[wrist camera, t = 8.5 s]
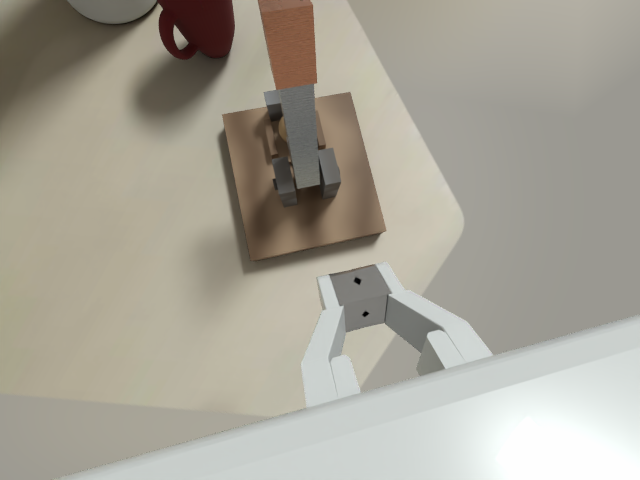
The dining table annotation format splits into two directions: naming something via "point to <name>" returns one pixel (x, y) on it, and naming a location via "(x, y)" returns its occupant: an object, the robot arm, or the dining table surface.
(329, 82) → the dining table surface
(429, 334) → the robot arm
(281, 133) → the walnut
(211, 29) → the mug
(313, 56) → the lever
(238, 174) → the bench
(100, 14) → the cylinder vase
